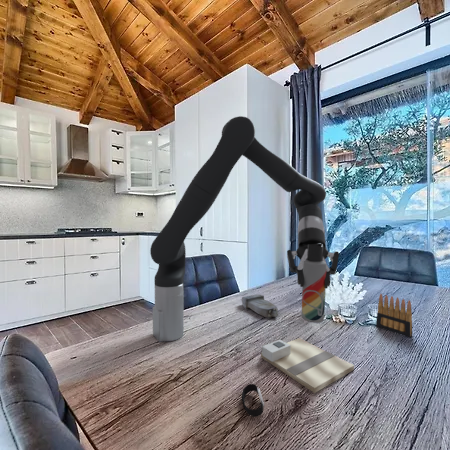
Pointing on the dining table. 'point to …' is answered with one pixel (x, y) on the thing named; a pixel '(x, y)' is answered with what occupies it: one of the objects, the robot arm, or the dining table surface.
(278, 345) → the block
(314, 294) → the lotion bottle
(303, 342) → the plywood panel
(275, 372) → the dining table surface
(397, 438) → the dining table surface
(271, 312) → the handheld device
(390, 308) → the ammunition clip
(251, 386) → the watch
